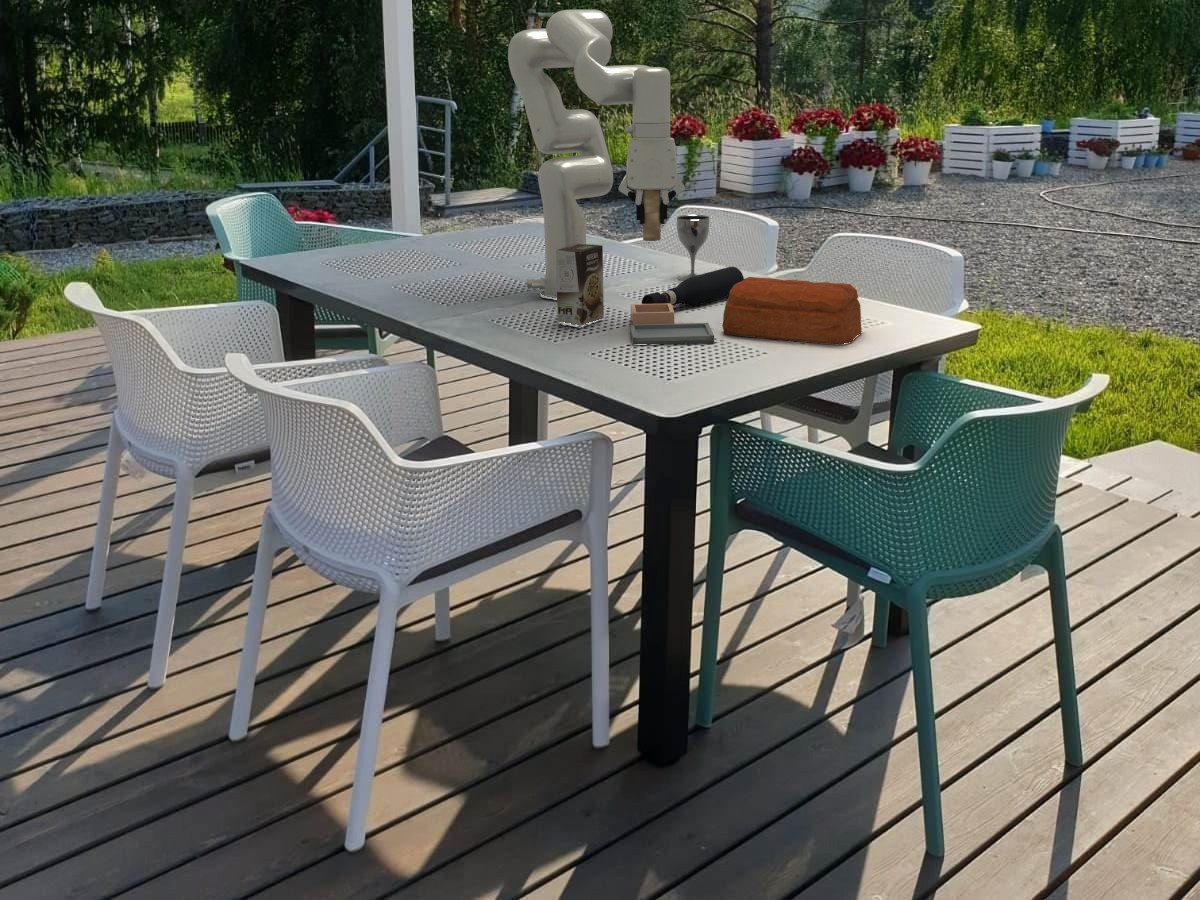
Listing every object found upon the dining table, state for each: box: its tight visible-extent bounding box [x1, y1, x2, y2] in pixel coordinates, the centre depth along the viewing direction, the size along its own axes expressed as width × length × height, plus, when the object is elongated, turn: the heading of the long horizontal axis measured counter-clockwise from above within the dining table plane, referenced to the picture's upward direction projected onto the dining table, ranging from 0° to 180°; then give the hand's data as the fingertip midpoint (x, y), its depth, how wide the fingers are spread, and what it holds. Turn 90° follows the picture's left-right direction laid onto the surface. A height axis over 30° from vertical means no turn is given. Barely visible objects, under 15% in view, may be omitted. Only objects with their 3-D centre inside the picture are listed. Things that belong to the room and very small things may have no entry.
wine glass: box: [676, 214, 710, 282], centre depth 302 cm, size 8×8×15 cm
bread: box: [722, 276, 862, 345], centre depth 249 cm, size 16×27×11 cm, turn 64°
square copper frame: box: [630, 303, 675, 325], centre depth 260 cm, size 9×9×3 cm
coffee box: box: [556, 243, 605, 325], centre depth 260 cm, size 9×6×16 cm
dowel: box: [642, 190, 662, 242], centre depth 253 cm, size 4×4×11 cm
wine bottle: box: [641, 266, 745, 307], centre depth 275 cm, size 6×6×30 cm
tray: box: [629, 322, 715, 346], centre depth 248 cm, size 16×11×2 cm
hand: (651, 222), depth 254 cm, fingers closed on dowel, 3 cm apart
